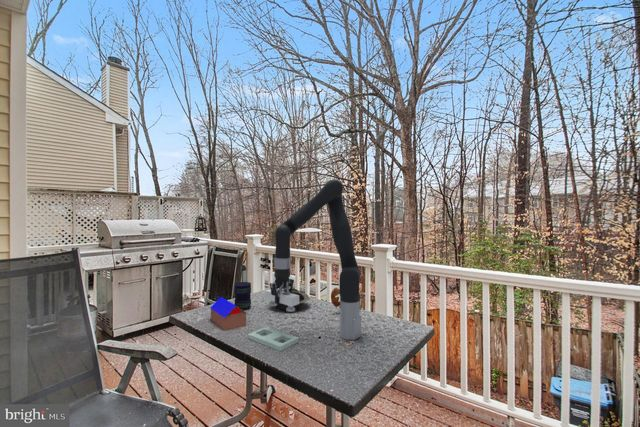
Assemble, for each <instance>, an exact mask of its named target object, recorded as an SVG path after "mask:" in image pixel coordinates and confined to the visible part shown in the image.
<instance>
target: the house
mask: <svg viewBox="0 0 640 427" xmlns="http://www.w3.org/2000/svg"><path fill="white" fill-rule="evenodd" d="M209 309H210V320H211V322H213V323H214V324H215V325H217V326H218V327H220V328H221V329H222V330H224V331H230V330H233V329H237V328H241V327H245V326H247V312H246V311H243V310H242V309H240V308H239V307H238V306H236V305H234V302H233V303H232V302H231V301H229V300H227V299H225V298H224V297H223V296H220V297H219V298H218V299H217V300H216V301H215V302H214V303H213V304H212V305H211V306H210V307H209Z"/></svg>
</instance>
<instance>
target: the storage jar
mask: <svg viewBox="0 0 640 427" xmlns="http://www.w3.org/2000/svg"><path fill="white" fill-rule="evenodd" d="M251 293H252V283H251V282H250V281H249V282H248V281H239V282H236V283H234V302H233V304H234V305H236V306H238V307H239V308H240V309H242V310H243V311H245V312H246V311H249V310H251V309H252V298H251Z"/></svg>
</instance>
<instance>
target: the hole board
mask: <svg viewBox="0 0 640 427" xmlns="http://www.w3.org/2000/svg"><path fill="white" fill-rule="evenodd" d="M264 334H265V335H264ZM247 339H249V341H254V342H255V343H257V344H261V345H263V346H266V347H268V348H271V349H274V350H275V351H279V352H282V351H283V350H285V349H288V348H289V347H292V346H293V345H296V344H297V343H299V342H300V340H299V339H300V337H298V336H295V335H293V334H290V333H287V332H283V331H281V330H278V329H275V328H272V327H270V326H269V327H268V326H266V327H263V328H262V327H261V328H260V329H258V330H255V331H252V332H251V333H248V334H247ZM281 341H284V342H281Z"/></svg>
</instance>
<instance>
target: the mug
mask: <svg viewBox="0 0 640 427" xmlns="http://www.w3.org/2000/svg"><path fill="white" fill-rule="evenodd" d="M338 295H340V288H338V287H334V288H333V289H332V291H331V293H330V300H331V303H332V305H333V306H334V307H335V308H338V307H340V301H338V300H337V298H336V296H338Z"/></svg>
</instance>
